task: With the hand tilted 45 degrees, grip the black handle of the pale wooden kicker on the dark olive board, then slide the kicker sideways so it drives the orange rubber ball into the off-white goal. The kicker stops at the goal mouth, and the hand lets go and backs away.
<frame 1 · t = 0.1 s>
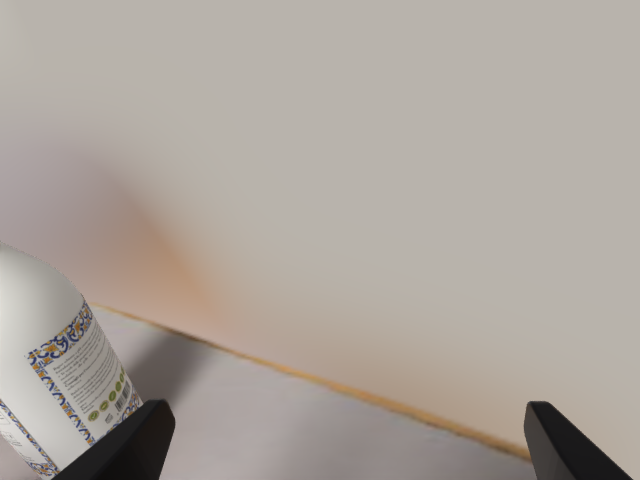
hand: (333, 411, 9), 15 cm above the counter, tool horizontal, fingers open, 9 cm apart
bath foam: (103, 447, 27), on the counter
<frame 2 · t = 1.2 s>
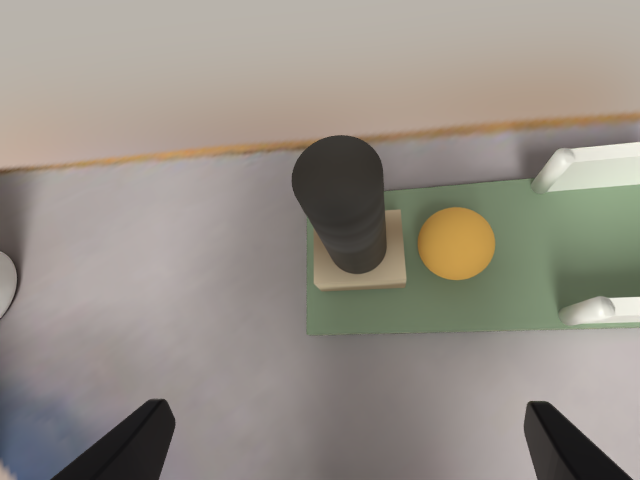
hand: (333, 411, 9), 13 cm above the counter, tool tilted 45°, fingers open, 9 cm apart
ball: (455, 243, 20), point 3 cm above the counter, touching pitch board
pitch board: (362, 262, 24), on the counter
kicker: (352, 227, 18), point 7 cm above the counter, slide at 0.0 cm
goal: (597, 249, 22), resting on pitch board
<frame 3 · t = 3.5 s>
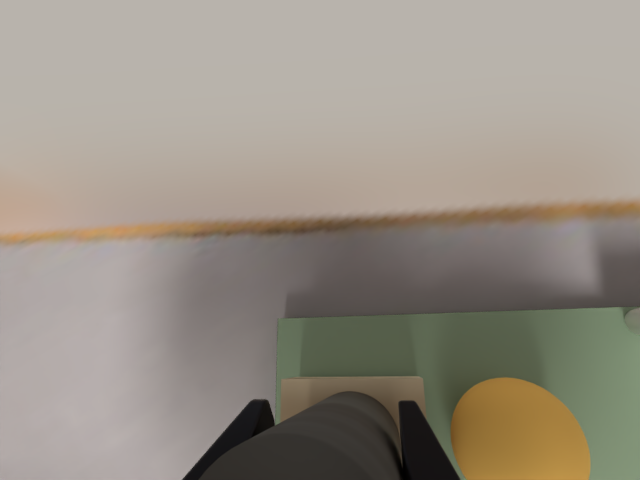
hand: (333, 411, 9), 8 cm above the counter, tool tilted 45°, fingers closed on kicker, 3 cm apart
ball: (515, 442, 12), point 3 cm above the counter, touching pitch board
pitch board: (360, 425, 16), on the counter
kicker: (340, 465, 10), point 7 cm above the counter, slide at 0.0 cm, touching gripper
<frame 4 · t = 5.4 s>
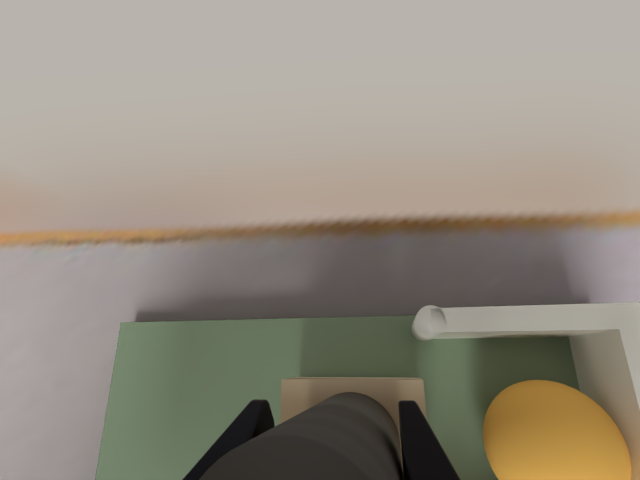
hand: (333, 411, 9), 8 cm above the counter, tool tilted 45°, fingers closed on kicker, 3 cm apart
ball: (550, 445, 12), point 3 cm above the counter, tilted 98°, touching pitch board
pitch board: (186, 421, 17), on the counter
kicker: (339, 466, 10), point 7 cm above the counter, slide at 8.1 cm, touching gripper
goal: (501, 429, 15), resting on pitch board
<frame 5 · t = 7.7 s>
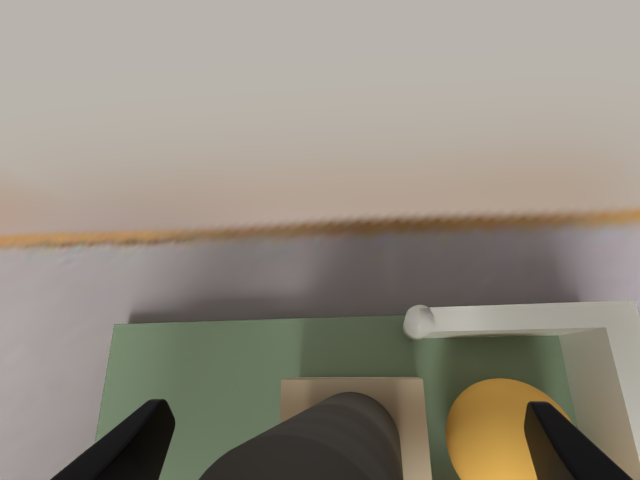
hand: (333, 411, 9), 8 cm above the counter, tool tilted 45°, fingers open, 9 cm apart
ball: (509, 443, 12), point 3 cm above the counter, tilted 123°, touching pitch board
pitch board: (179, 422, 17), on the counter
kicker: (339, 466, 10), point 7 cm above the counter, slide at 8.5 cm
goal: (492, 428, 15), resting on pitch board
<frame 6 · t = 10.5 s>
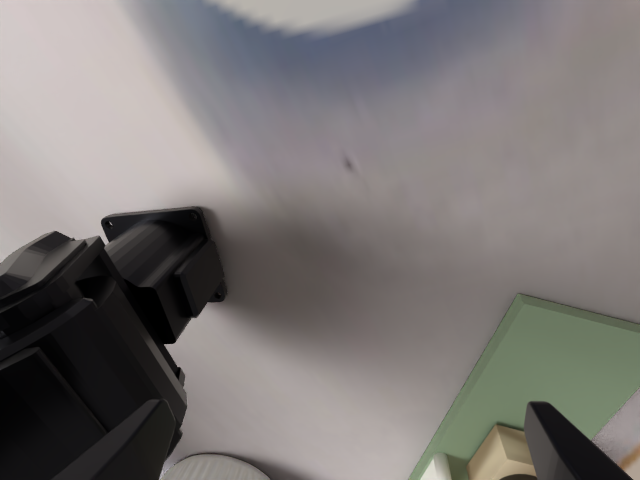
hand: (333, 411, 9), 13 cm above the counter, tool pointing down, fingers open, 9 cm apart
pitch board: (561, 354, 23), on the counter
goal: (472, 476, 30), resting on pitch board
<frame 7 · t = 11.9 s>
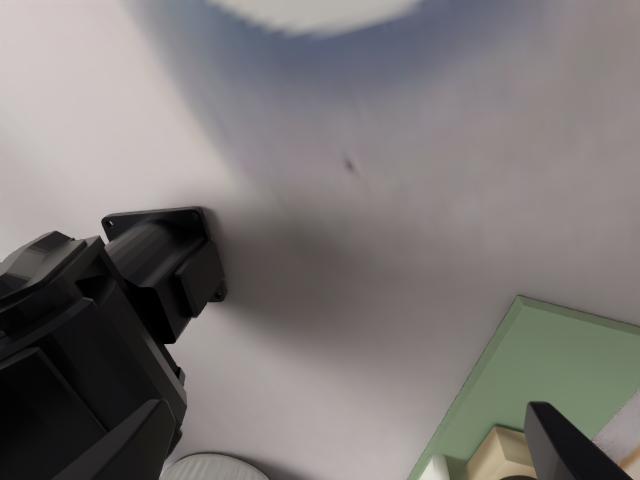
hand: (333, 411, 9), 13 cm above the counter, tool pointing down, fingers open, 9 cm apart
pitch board: (560, 356, 23), on the counter
goal: (470, 477, 30), resting on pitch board
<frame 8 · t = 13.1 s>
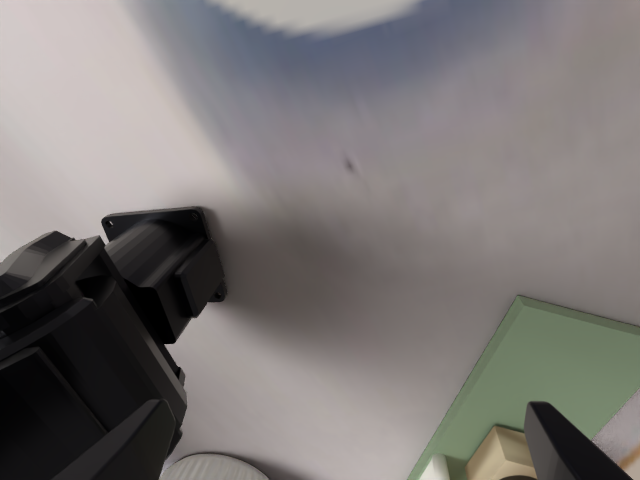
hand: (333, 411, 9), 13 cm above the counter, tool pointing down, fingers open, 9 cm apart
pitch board: (560, 356, 23), on the counter
goal: (470, 477, 30), resting on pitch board
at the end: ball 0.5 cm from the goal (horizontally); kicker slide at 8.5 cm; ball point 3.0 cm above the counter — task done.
